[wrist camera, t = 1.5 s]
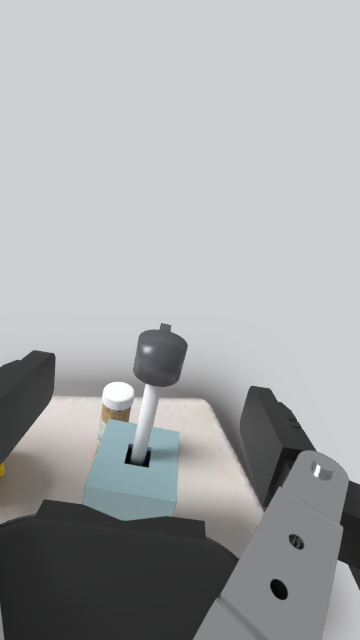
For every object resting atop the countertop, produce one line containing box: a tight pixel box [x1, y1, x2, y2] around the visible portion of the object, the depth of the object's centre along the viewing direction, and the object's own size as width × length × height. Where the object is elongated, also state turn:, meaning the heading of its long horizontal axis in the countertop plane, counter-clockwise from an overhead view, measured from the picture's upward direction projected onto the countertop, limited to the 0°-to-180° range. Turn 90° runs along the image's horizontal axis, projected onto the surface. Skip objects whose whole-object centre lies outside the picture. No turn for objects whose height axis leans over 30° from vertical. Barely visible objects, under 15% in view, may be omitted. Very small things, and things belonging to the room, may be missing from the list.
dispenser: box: [83, 419, 179, 521], centre depth 31 cm, size 8×8×17 cm
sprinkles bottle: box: [95, 382, 135, 456], centre depth 44 cm, size 5×5×13 cm
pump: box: [130, 323, 188, 467], centre depth 27 cm, size 6×4×14 cm, turn 178°
